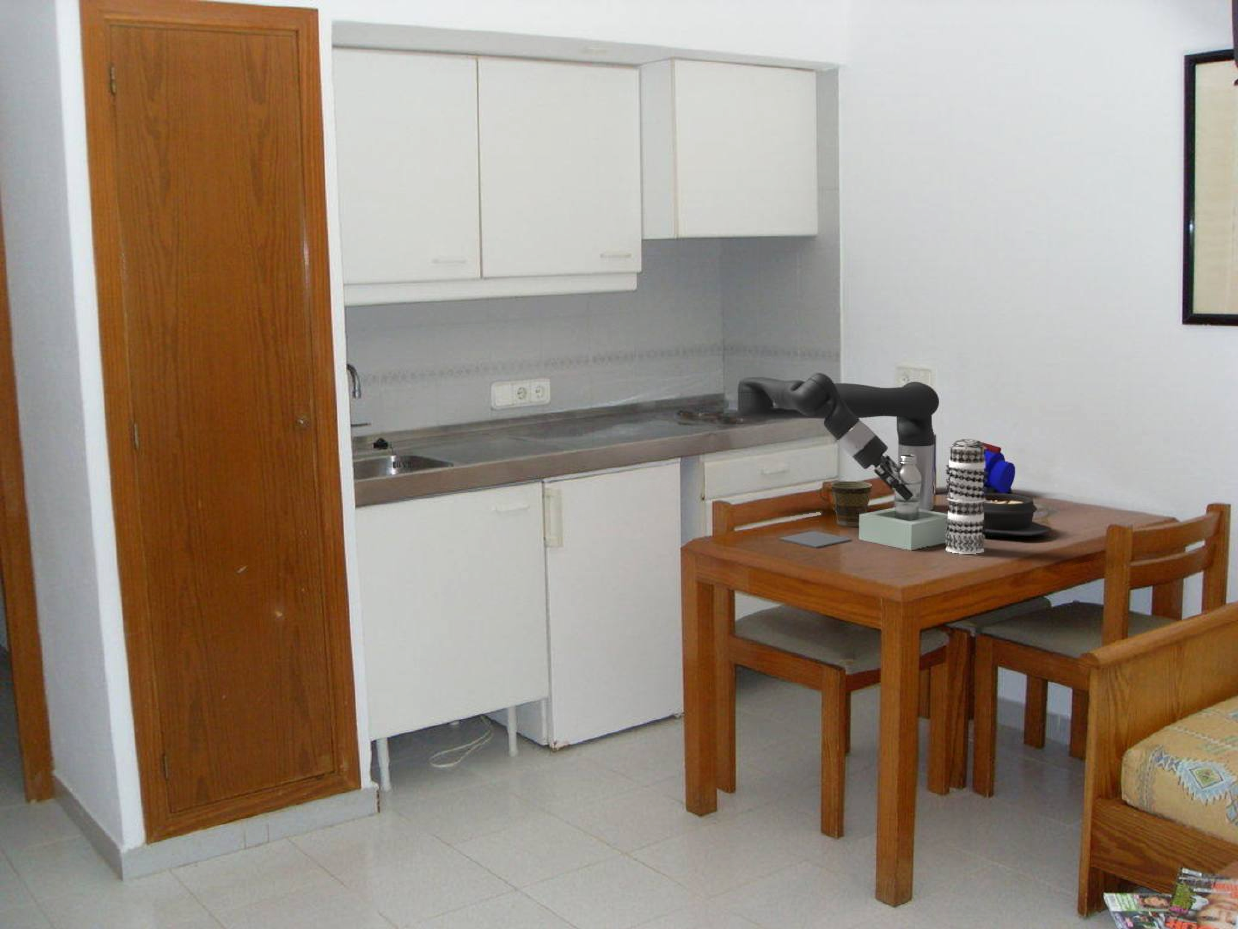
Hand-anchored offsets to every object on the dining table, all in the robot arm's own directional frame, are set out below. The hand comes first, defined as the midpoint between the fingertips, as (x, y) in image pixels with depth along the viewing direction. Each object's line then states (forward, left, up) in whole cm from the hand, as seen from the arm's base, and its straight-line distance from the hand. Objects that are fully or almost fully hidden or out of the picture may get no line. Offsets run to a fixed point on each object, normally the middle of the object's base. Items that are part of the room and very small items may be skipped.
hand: (911, 494), depth 302 cm
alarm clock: (-23, +61, -11) cm, 66 cm away
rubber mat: (-15, -16, -11) cm, 25 cm away
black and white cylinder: (+15, +1, -11) cm, 19 cm away
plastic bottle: (-1, 0, -11) cm, 11 cm away
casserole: (+8, +23, -11) cm, 26 cm away
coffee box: (-39, +51, -11) cm, 65 cm away
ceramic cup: (-23, +3, -11) cm, 26 cm away
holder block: (-1, 0, -11) cm, 11 cm away
